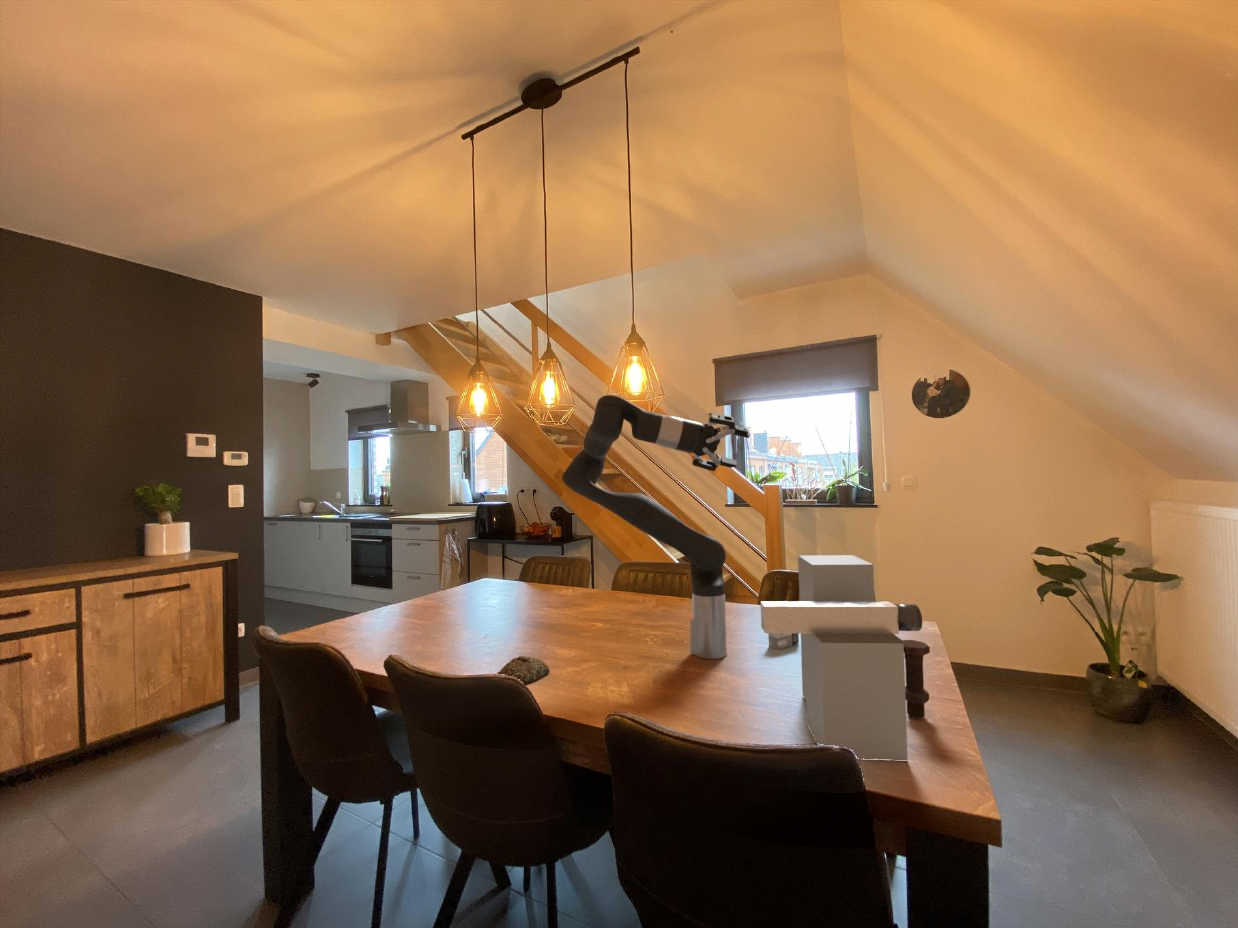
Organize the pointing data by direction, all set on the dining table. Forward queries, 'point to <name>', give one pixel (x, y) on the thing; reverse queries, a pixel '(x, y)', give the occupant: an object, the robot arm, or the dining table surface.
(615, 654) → the dining table surface
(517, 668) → the dark brown domed lump
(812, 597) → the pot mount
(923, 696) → the bolt
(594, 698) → the dining table surface
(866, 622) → the knob shaft
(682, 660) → the dining table surface
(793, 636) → the label tape box
